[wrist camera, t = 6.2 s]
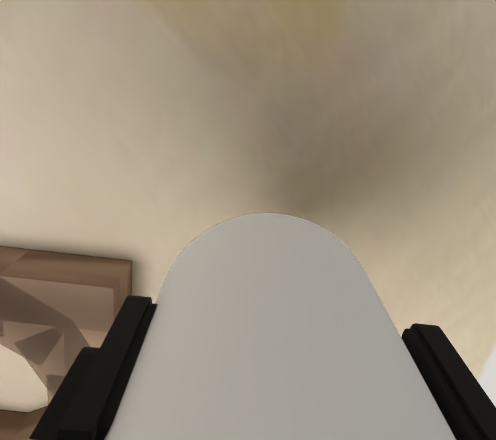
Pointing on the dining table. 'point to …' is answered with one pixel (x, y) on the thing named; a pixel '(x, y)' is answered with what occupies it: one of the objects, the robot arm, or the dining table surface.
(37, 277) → the can holder
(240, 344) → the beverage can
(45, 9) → the dining table surface
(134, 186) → the dining table surface
